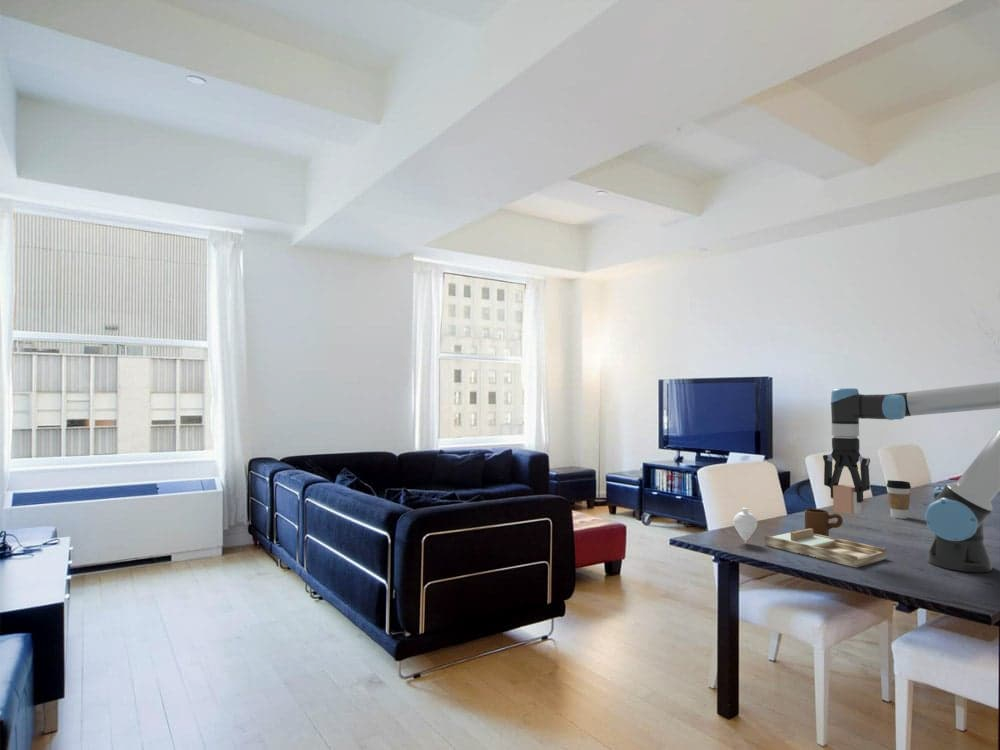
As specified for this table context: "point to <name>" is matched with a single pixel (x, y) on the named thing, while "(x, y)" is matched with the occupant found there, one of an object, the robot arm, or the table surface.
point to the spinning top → (745, 523)
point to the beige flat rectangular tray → (833, 550)
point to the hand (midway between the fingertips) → (846, 510)
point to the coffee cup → (899, 498)
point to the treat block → (843, 498)
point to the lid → (805, 538)
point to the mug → (821, 521)
